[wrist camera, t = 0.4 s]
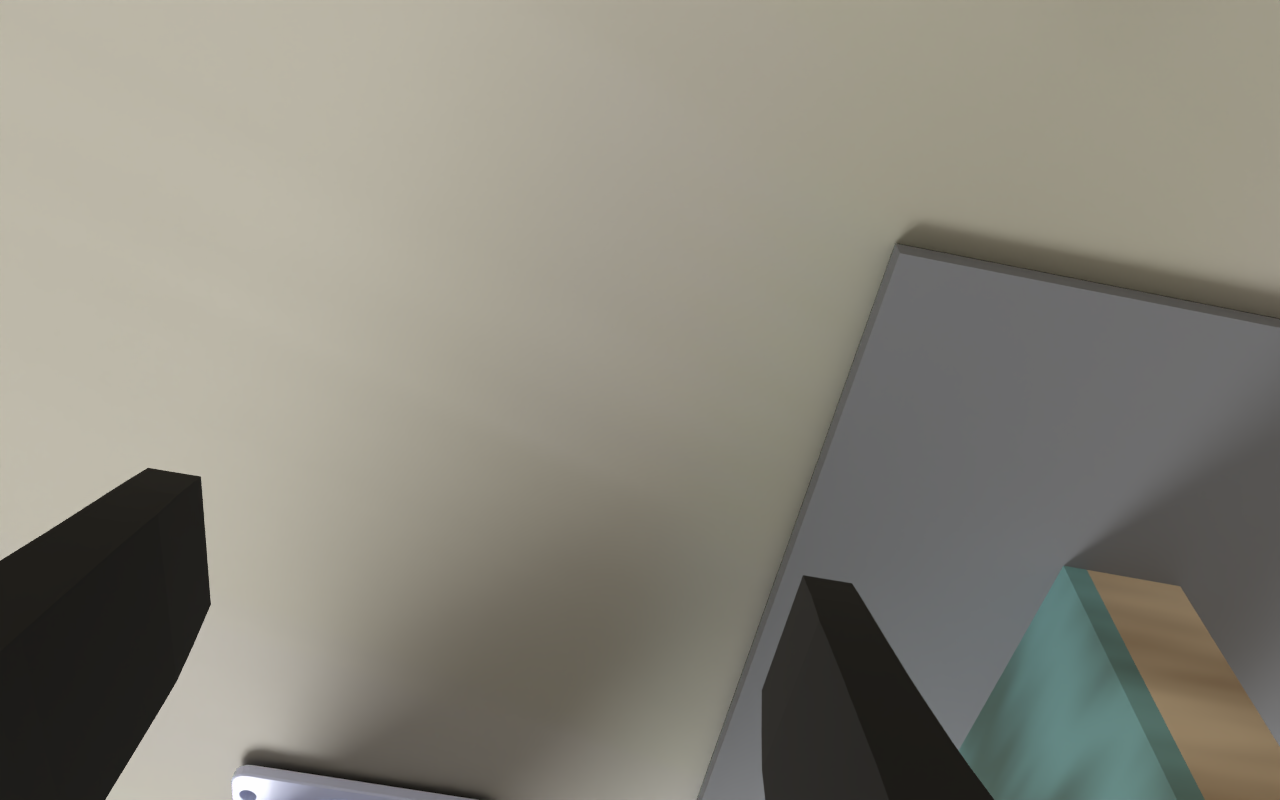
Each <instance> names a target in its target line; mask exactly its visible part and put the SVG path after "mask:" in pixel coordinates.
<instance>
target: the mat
mask: <svg viewBox="0 0 1280 800" xmlns="http://www.w3.org/2000/svg"><path fill="white" fill-rule="evenodd" d="M1063 566H1068V567H1074V568H1080V569H1085V570H1091V571H1097V572H1102V573H1108V574H1114V575H1119V576H1125V577H1131V578H1136V579H1142V580H1148V581H1153V582H1159V583H1164V584H1170V585H1176V586H1180V587H1181V588H1182V590H1183V592H1184V593H1185V595H1186V596H1187V598H1188V600H1189V601H1190V603H1191V605H1192V606H1193V608H1194V609H1195V611H1196V613H1197V614H1198V616H1199V617H1200V619H1201V621H1202V622H1203V624H1204V625H1205V627H1206V629H1207V630H1208V632H1209V634H1210V635H1211V637H1212V638H1213V640H1214V642H1215V643H1216V645H1217V646H1218V648H1219V650H1220V651H1221V653H1222V655H1223V656H1224V658H1225V659H1226V661H1227V663H1228V664H1229V666H1230V667H1231V669H1232V671H1233V672H1234V674H1235V675H1236V677H1237V679H1238V680H1239V682H1240V684H1241V685H1242V687H1243V688H1244V690H1245V692H1246V693H1247V695H1248V696H1249V698H1250V700H1251V701H1252V703H1253V705H1254V706H1255V708H1256V709H1257V711H1258V713H1259V714H1260V716H1261V717H1262V719H1263V721H1264V722H1265V724H1266V726H1267V727H1268V729H1269V730H1270V732H1271V734H1272V735H1273V737H1274V738H1275V740H1276V742H1277V743H1278V745H1279V746H1280V319H1277V318H1272V317H1267V316H1262V315H1257V314H1252V313H1246V312H1241V311H1236V310H1231V309H1226V308H1221V307H1216V306H1211V305H1206V304H1201V303H1196V302H1191V301H1186V300H1180V299H1175V298H1170V297H1165V296H1160V295H1155V294H1150V293H1145V292H1140V291H1135V290H1130V289H1125V288H1120V287H1114V286H1109V285H1104V284H1099V283H1094V282H1089V281H1084V280H1079V279H1074V278H1069V277H1064V276H1059V275H1053V274H1048V273H1043V272H1038V271H1033V270H1028V269H1023V268H1018V267H1013V266H1008V265H1003V264H998V263H993V262H987V261H982V260H977V259H972V258H967V257H962V256H957V255H952V254H947V253H942V252H937V251H932V250H927V249H921V248H916V247H911V246H906V245H901V244H896V243H895V246H894V249H893V252H892V254H891V257H890V260H889V263H888V266H887V268H886V271H885V274H884V277H883V280H882V282H881V285H880V288H879V291H878V294H877V296H876V299H875V302H874V305H873V308H872V310H871V313H870V316H869V319H868V322H867V324H866V327H865V330H864V333H863V336H862V338H861V341H860V344H859V347H858V350H857V352H856V355H855V358H854V361H853V364H852V366H851V369H850V372H849V375H848V378H847V380H846V383H845V386H844V389H843V392H842V394H841V397H840V400H839V403H838V406H837V408H836V411H835V414H834V417H833V420H832V422H831V425H830V428H829V431H828V434H827V436H826V439H825V442H824V445H823V448H822V450H821V453H820V456H819V459H818V462H817V464H816V467H815V470H814V473H813V476H812V478H811V481H810V484H809V487H808V490H807V492H806V495H805V498H804V501H803V504H802V506H801V509H800V512H799V515H798V518H797V520H796V523H795V526H794V529H793V532H792V534H791V537H790V540H789V543H788V546H787V548H786V551H785V554H784V557H783V560H782V562H781V565H780V568H779V571H778V574H777V576H776V579H775V582H774V585H773V588H772V590H771V593H770V596H769V599H768V602H767V604H766V607H765V610H764V613H763V616H762V618H761V621H760V624H759V627H758V630H757V632H756V635H755V638H754V641H753V644H752V646H751V649H750V652H749V655H748V658H747V660H746V663H745V666H744V669H743V672H742V674H741V677H740V680H739V683H738V686H737V688H736V691H735V694H734V697H733V700H732V702H731V705H730V708H729V711H728V714H727V716H726V719H725V722H724V725H723V728H722V730H721V733H720V736H719V739H718V742H717V744H716V747H715V750H714V753H713V756H712V758H711V761H710V764H709V767H708V770H707V772H706V775H705V778H704V781H703V784H702V786H701V789H700V792H699V795H698V798H697V800H765V793H764V784H763V775H762V738H761V727H762V688H763V685H764V683H765V680H766V677H767V674H768V671H769V669H770V666H771V663H772V660H773V657H774V655H775V652H776V649H777V646H778V643H779V641H780V638H781V635H782V632H783V630H784V627H785V624H786V621H787V618H788V616H789V613H790V610H791V607H792V604H793V602H794V599H795V596H796V593H797V590H798V588H799V585H800V582H801V579H802V577H803V575H805V576H811V577H817V578H823V579H829V580H835V581H841V582H848V583H852V584H853V585H854V587H855V589H856V590H857V592H858V593H859V595H860V596H861V598H862V600H863V601H864V603H865V605H866V606H867V608H868V609H869V611H870V613H871V614H872V616H873V618H874V619H875V621H876V623H877V624H878V626H879V628H880V629H881V631H882V633H883V634H884V636H885V638H886V639H887V641H888V643H889V644H890V646H891V648H892V649H893V651H894V652H895V654H896V656H897V657H898V659H899V660H900V662H901V664H902V665H903V667H904V669H905V670H906V672H907V673H908V675H909V677H910V678H911V680H912V681H913V683H914V684H915V686H916V688H917V689H918V691H919V692H920V694H921V695H922V697H923V698H924V700H925V701H926V703H927V704H928V706H929V707H930V709H931V710H932V712H933V713H934V715H935V716H936V718H937V719H938V721H939V722H940V724H941V725H942V727H943V728H944V730H945V731H946V733H947V734H948V736H949V737H950V739H951V740H952V742H953V743H954V745H955V746H956V748H957V749H958V750H959V749H960V747H961V745H962V743H963V742H964V740H965V738H966V736H967V735H968V733H969V731H970V729H971V728H972V726H973V724H974V722H975V721H976V719H977V717H978V715H979V714H980V712H981V710H982V708H983V706H984V705H985V703H986V701H987V699H988V698H989V696H990V694H991V692H992V691H993V689H994V687H995V685H996V684H997V682H998V680H999V678H1000V676H1001V675H1002V673H1003V671H1004V669H1005V668H1006V666H1007V664H1008V662H1009V661H1010V659H1011V657H1012V655H1013V654H1014V652H1015V650H1016V648H1017V647H1018V645H1019V643H1020V641H1021V639H1022V638H1023V636H1024V634H1025V632H1026V631H1027V629H1028V627H1029V625H1030V624H1031V622H1032V620H1033V618H1034V617H1035V615H1036V613H1037V611H1038V610H1039V608H1040V606H1041V604H1042V602H1043V601H1044V599H1045V597H1046V595H1047V594H1048V592H1049V590H1050V588H1051V587H1052V585H1053V583H1054V581H1055V580H1056V578H1057V576H1058V574H1059V572H1060V571H1061V569H1062V567H1063Z"/></svg>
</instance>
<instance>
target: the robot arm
mask: <svg viewBox="0 0 1280 800" xmlns="http://www.w3.org/2000/svg"><path fill="white" fill-rule="evenodd" d="M210 605H211V602H210V589H209V576H208V563H207V550H206V538H205V525H204V512H203V499H202V486H201V477H200V476H194V475H187V474H181V473H175V472H169V471H163V470H157V469H151V468H147V469H146V470H144V471H142V472H141V473H139V474H137V475H136V476H134V477H132V478H131V479H129V480H127V481H126V482H124V483H123V484H121V485H120V486H118V487H116V488H115V489H113V490H112V491H110V492H109V493H107V494H105V495H104V496H102V497H101V498H99V499H98V500H96V501H95V502H93V503H91V504H90V505H88V506H87V507H85V508H84V509H82V510H81V511H79V512H77V513H76V514H74V515H73V516H71V517H70V518H68V519H66V520H65V521H63V522H62V523H60V524H59V525H57V526H55V527H54V528H52V529H51V530H49V531H48V532H46V533H44V534H43V535H41V536H39V537H38V538H36V539H35V540H33V541H31V542H30V543H28V544H27V545H25V546H23V547H22V548H20V549H18V550H17V551H15V552H14V553H12V554H10V555H9V556H7V557H6V558H4V559H2V560H1V561H0V800H105V799H106V797H107V796H108V794H109V792H110V791H111V789H112V788H113V786H114V784H115V783H116V781H117V779H118V778H119V776H120V774H121V773H122V771H123V770H124V768H125V766H126V765H127V763H128V761H129V760H130V758H131V757H132V755H133V753H134V752H135V750H136V748H137V747H138V745H139V743H140V742H141V740H142V738H143V737H144V735H145V733H146V732H147V730H148V729H149V727H150V725H151V724H152V722H153V720H154V719H155V717H156V715H157V714H158V712H159V710H160V709H161V707H162V705H163V704H164V702H165V700H166V699H167V697H168V695H169V693H170V692H171V690H172V688H173V687H174V685H175V683H176V681H177V679H178V677H179V675H180V673H181V671H182V668H183V666H184V664H185V662H186V660H187V658H188V655H189V653H190V651H191V649H192V647H193V644H194V642H195V640H196V637H197V635H198V633H199V630H200V628H201V626H202V623H203V621H204V619H205V616H206V614H207V612H208V610H209V607H210ZM761 738H762V775H763V784H764V793H765V800H994V799H993V797H992V796H991V794H990V793H989V792H988V790H987V789H986V788H985V786H984V785H983V784H982V782H981V781H980V780H979V778H978V777H977V776H976V774H975V773H974V772H973V770H972V769H971V768H970V766H969V765H968V763H967V762H966V760H965V759H964V758H963V756H962V755H961V753H960V752H959V750H958V749H957V748H956V746H955V745H954V743H953V742H952V740H951V739H950V737H949V736H948V734H947V733H946V731H945V730H944V728H943V727H942V725H941V724H940V722H939V721H938V719H937V718H936V716H935V715H934V713H933V712H932V710H931V709H930V707H929V706H928V704H927V703H926V701H925V700H924V698H923V697H922V695H921V694H920V692H919V691H918V689H917V688H916V686H915V684H914V683H913V681H912V680H911V678H910V677H909V675H908V673H907V672H906V670H905V669H904V667H903V665H902V664H901V662H900V660H899V659H898V657H897V656H896V654H895V652H894V651H893V649H892V648H891V646H890V644H889V643H888V641H887V639H886V638H885V636H884V634H883V633H882V631H881V629H880V628H879V626H878V624H877V623H876V621H875V619H874V618H873V616H872V614H871V613H870V611H869V609H868V608H867V606H866V605H865V603H864V601H863V600H862V598H861V596H860V595H859V593H858V592H857V590H856V589H855V587H854V585H853V584H852V583H848V582H841V581H835V580H829V579H823V578H817V577H811V576H805V575H803V577H802V579H801V582H800V585H799V588H798V590H797V593H796V596H795V599H794V602H793V604H792V607H791V610H790V613H789V616H788V618H787V621H786V624H785V627H784V630H783V632H782V635H781V638H780V641H779V643H778V646H777V649H776V652H775V655H774V657H773V660H772V663H771V666H770V669H769V671H768V674H767V677H766V680H765V683H764V685H763V688H762V727H761ZM231 784H232V800H477V799H470V798H464V797H457V796H451V795H444V794H438V793H431V792H425V791H418V790H412V789H405V788H399V787H392V786H386V785H379V784H373V783H366V782H360V781H353V780H347V779H340V778H334V777H327V776H321V775H314V774H308V773H301V772H295V771H288V770H282V769H275V768H269V767H262V766H256V765H243V766H240V767H239V768H237V769H236V771H235V773H234V775H233V778H232V781H231Z"/></svg>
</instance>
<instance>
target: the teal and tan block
mask: <svg viewBox="0 0 1280 800" xmlns="http://www.w3.org/2000/svg"><path fill="white" fill-rule="evenodd" d="M959 752H960V753H961V755H962V756H963V758H964V759H965V760H966V762H967V763H968V765H969V766H970V768H971V769H972V770H973V772H974V773H975V774H976V776H977V777H978V778H979V780H980V781H981V782H982V784H983V785H984V786H985V788H986V789H987V790H988V792H989V793H990V794H991V796H992V797H993V799H994V800H1280V746H1279V745H1278V743H1277V742H1276V740H1275V738H1274V737H1273V735H1272V734H1271V732H1270V730H1269V729H1268V727H1267V726H1266V724H1265V722H1264V721H1263V719H1262V717H1261V716H1260V714H1259V713H1258V711H1257V709H1256V708H1255V706H1254V705H1253V703H1252V701H1251V700H1250V698H1249V696H1248V695H1247V693H1246V692H1245V690H1244V688H1243V687H1242V685H1241V684H1240V682H1239V680H1238V679H1237V677H1236V675H1235V674H1234V672H1233V671H1232V669H1231V667H1230V666H1229V664H1228V663H1227V661H1226V659H1225V658H1224V656H1223V655H1222V653H1221V651H1220V650H1219V648H1218V646H1217V645H1216V643H1215V642H1214V640H1213V638H1212V637H1211V635H1210V634H1209V632H1208V630H1207V629H1206V627H1205V625H1204V624H1203V622H1202V621H1201V619H1200V617H1199V616H1198V614H1197V613H1196V611H1195V609H1194V608H1193V606H1192V605H1191V603H1190V601H1189V600H1188V598H1187V596H1186V595H1185V593H1184V592H1183V590H1182V588H1181V587H1180V586H1176V585H1170V584H1164V583H1159V582H1153V581H1148V580H1142V579H1136V578H1131V577H1125V576H1119V575H1114V574H1108V573H1102V572H1097V571H1091V570H1085V569H1080V568H1074V567H1068V566H1063V567H1062V569H1061V571H1060V572H1059V574H1058V576H1057V578H1056V580H1055V581H1054V583H1053V585H1052V587H1051V588H1050V590H1049V592H1048V594H1047V595H1046V597H1045V599H1044V601H1043V602H1042V604H1041V606H1040V608H1039V610H1038V611H1037V613H1036V615H1035V617H1034V618H1033V620H1032V622H1031V624H1030V625H1029V627H1028V629H1027V631H1026V632H1025V634H1024V636H1023V638H1022V639H1021V641H1020V643H1019V645H1018V647H1017V648H1016V650H1015V652H1014V654H1013V655H1012V657H1011V659H1010V661H1009V662H1008V664H1007V666H1006V668H1005V669H1004V671H1003V673H1002V675H1001V676H1000V678H999V680H998V682H997V684H996V685H995V687H994V689H993V691H992V692H991V694H990V696H989V698H988V699H987V701H986V703H985V705H984V706H983V708H982V710H981V712H980V714H979V715H978V717H977V719H976V721H975V722H974V724H973V726H972V728H971V729H970V731H969V733H968V735H967V736H966V738H965V740H964V742H963V743H962V745H961V747H960V749H959Z"/></svg>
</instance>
